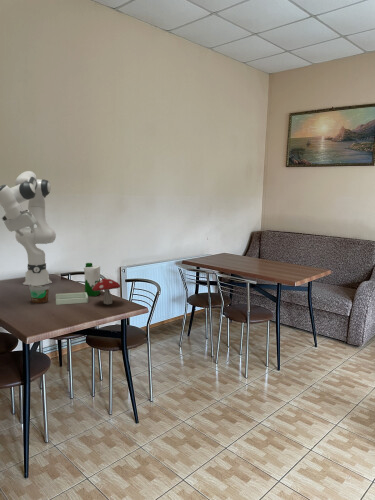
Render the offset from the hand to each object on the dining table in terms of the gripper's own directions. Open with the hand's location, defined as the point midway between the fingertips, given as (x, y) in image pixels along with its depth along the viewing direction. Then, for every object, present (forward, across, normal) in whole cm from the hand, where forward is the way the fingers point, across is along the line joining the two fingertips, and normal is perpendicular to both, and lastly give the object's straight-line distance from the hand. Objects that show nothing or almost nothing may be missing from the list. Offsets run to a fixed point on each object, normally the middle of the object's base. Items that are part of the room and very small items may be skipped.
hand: (27, 234), depth 221 cm
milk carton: (+51, -13, -9) cm, 54 cm away
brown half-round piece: (+36, +3, +17) cm, 40 cm away
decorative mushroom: (+52, -32, +4) cm, 61 cm away
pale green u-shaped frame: (+44, -11, +6) cm, 46 cm away
